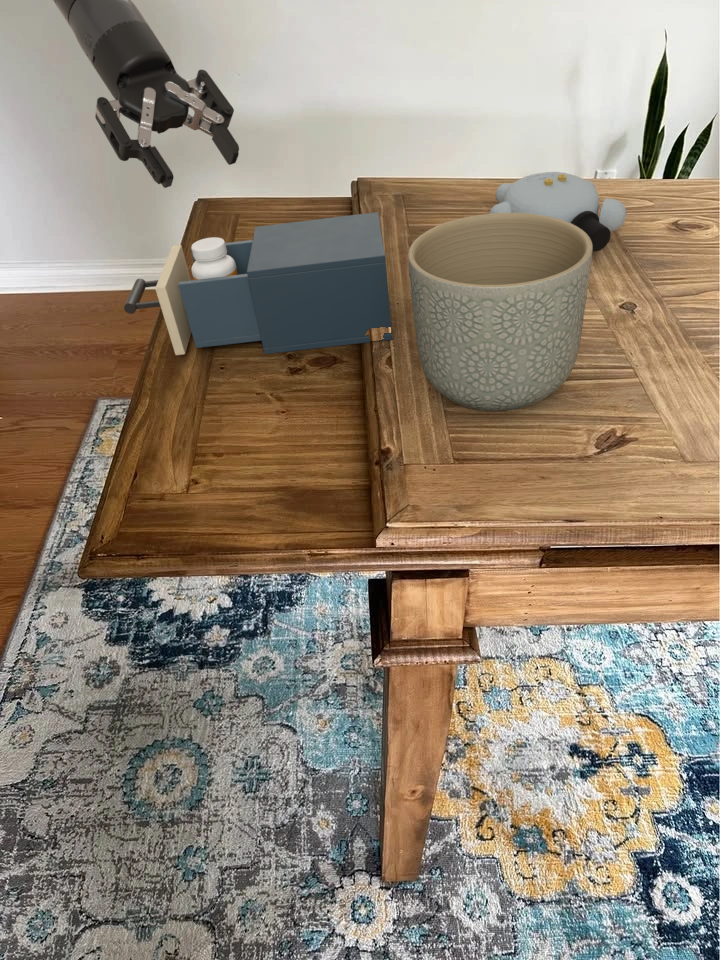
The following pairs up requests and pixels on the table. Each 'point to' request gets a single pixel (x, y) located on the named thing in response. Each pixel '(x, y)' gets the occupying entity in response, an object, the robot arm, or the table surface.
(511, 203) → the figurine
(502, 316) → the planter
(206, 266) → the supplement bottle
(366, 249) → the cabinet
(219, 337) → the drawer
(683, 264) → the table surface
